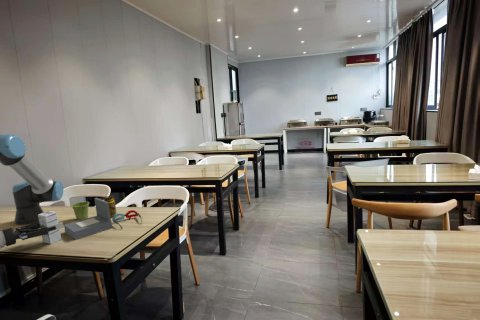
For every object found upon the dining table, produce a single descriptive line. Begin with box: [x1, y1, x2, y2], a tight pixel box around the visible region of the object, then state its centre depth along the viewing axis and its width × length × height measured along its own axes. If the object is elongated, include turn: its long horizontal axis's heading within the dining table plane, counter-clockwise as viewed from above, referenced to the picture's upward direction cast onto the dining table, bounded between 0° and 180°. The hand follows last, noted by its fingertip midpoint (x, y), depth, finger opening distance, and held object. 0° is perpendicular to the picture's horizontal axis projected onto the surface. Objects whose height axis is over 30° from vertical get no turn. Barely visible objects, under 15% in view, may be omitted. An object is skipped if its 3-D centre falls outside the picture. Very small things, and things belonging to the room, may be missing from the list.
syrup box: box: [38, 210, 62, 245], centre depth 149 cm, size 6×6×14 cm
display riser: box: [63, 197, 113, 240], centre depth 161 cm, size 16×18×14 cm
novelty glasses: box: [111, 209, 143, 230], centre depth 168 cm, size 14×15×5 cm
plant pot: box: [71, 201, 90, 221], centre depth 181 cm, size 9×9×9 cm
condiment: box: [103, 195, 119, 219], centre depth 180 cm, size 7×8×12 cm
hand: (59, 222), depth 152 cm, fingers open, 9 cm apart
